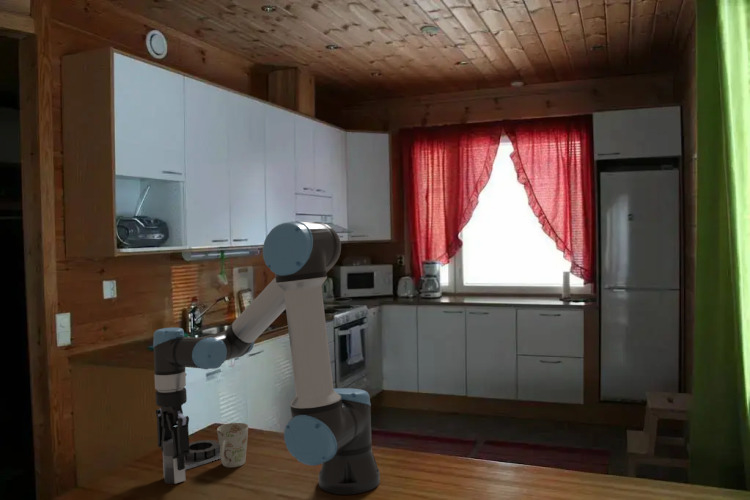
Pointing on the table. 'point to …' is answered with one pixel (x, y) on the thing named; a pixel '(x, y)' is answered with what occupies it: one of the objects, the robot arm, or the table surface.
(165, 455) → the lens
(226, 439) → the mug
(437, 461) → the table surface
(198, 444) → the mount
